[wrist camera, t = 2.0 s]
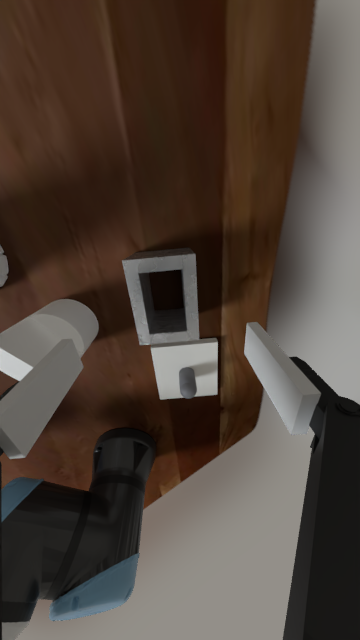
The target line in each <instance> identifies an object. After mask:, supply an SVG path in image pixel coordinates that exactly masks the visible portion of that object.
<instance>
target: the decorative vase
mask: <svg viewBox="0 0 360 640" xmlns="http://www.w3.org/2000/svg"><path fill="white" fill-rule="evenodd" d="M3 253H4V250H3V249H2V247H1V246H0V287H1V286H3V285H4V283H5V281H6V280H7V278H8V276H7V275H6V274H8V272H9V269H8V261H7V256H5V255H3Z"/></svg>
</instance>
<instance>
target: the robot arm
mask: <svg viewBox="0 0 360 640" xmlns="http://www.w3.org/2000/svg"><path fill="white" fill-rule="evenodd" d="M244 354H245V355H246V357H247V359H248V361H249V362H250V364H251V366H252V368H253V369H254V371H255V373H256V375H257V376H258V378H259V380H260V382H261V383H262V385H263V387H264V389H265V390H266V392H267V394H268V395H269V397H270V399H271V401H272V403H273V404H274V406H275V408H276V410H277V411H278V413H279V415H280V417H281V418H282V420H283V422H284V424H285V425H286V427H287V429H288V431H289V432H290V434H291V435H297V434H306V433H307V431H308V429H309V426H310V427H311V428H312V430H313V431H314V433H315V435H314V438H313V441H312V443H311V446H310V447H311V448H312V452H311V458H310V465H309V471H308V478H307V484H306V491H305V498H304V504H303V511H302V517H301V524H300V531H299V537H298V544H297V550H296V557H295V563H294V570H293V576H292V583H291V590H290V596H289V602H288V609H287V615H286V622H285V629H284V636H283V640H360V405H359V404H357V403H356V402H354V401H352V400H350V399H348V398H345V397H341V396H338V395H337V394H336V392H334V390H333V389H331V387H330V386H328V384H327V383H325V382H324V380H323V379H321V377H320V376H319V375H317V373H316V372H315V371H314V370H312V368H311V367H310V366H309V365H308V364H307V363H306V362H304V361H303V360H301V359H299V358H298V357H288V356H287V355H286V354H285V353H284V351H283V350H282V349H281V348H280V347H279V346H278V345H277V344H276V342H274V340H273V339H272V338H271V337H270V336H269V335H268V334H267V332H266V331H265V330H264V329H263V328H262V327H261V326H260V325H259V324H258V322H252V323H247V327H246V338H245V349H244ZM82 369H83V364H82V362H81V359H80V357H79V355H78V352H77V350H76V347H75V345H74V342H73V340H72V339H62V340H61V341H60V342H59V343H58V344H57V345H56V346H55V347H54V348H53V349H52V350H51V351H50V352H49V353H48V354H47V355H46V356H45V357H44V358H43V359H42V360H41V361H40V362H39V363H38V364H37V365H36V366H35V367H34V368H33V369H32V370H31V371H30V372H29V373H28V374H27V375H26V376H25V377H24V378H23V379H22V380H21V381H19V382H17V383H16V384H14V385H13V386H11V387H10V388H8V389H7V390H6V391H5V392H4V393H3V394H2V395H1V397H0V456H1V455H2V453H3V452H4V453H5V454H6V455H7V456H8V457H9V458H10V459H13V458H25V457H26V455H27V454H28V452H29V451H30V449H31V448H32V446H33V445H34V443H35V442H36V440H37V438H38V437H39V435H40V434H41V432H42V431H43V429H44V428H45V426H46V424H47V423H48V421H49V420H50V418H51V417H52V415H53V414H54V412H55V411H56V409H57V407H58V406H59V404H60V403H61V401H62V400H63V398H64V397H65V395H66V394H67V392H68V390H69V389H70V387H71V386H72V384H73V383H74V381H75V380H76V378H77V377H78V375H79V373H80V372H81V370H82ZM155 456H156V443H155V441H154V440H153V438H152V437H150V436H149V435H148V434H146V433H144V432H142V431H139V430H135V429H127V428H122V429H114V430H111V431H108V432H106V433H104V434H103V435H101V436H100V437H99V439H98V440H97V443H96V446H95V449H94V453H93V470H92V482H91V485H90V488H89V492H88V491H84V490H80V489H75V488H71V487H67V486H63V485H59V484H55V483H50V482H46V481H44V479H40V480H38V479H31V478H25V477H19V478H16V479H14V480H12V481H10V482H9V483H8V484H7V485H6V486H5V487H4V488H3V489H2V490H1V462H0V640H15V639H16V637H17V636H18V635H19V634H20V633H21V632H22V631H23V630H24V629H25V628H26V627H27V626H28V624H29V621H30V619H31V616H32V614H33V611H34V608H35V605H36V603H37V601H38V599H48V600H53V602H52V603H51V605H50V614H49V618H50V620H52V621H55V620H61V621H62V620H69V619H75V618H80V617H84V616H89V615H93V614H97V613H101V612H104V611H107V610H110V609H113V608H116V607H118V606H120V605H122V604H124V603H125V602H126V601H127V600H128V599H129V597H130V595H131V593H132V591H133V588H134V583H135V576H136V570H137V563H138V558H139V545H140V534H141V525H142V514H143V505H144V494H145V486H146V482H147V479H148V477H149V474H150V471H151V468H152V466H153V463H154V460H155Z"/></svg>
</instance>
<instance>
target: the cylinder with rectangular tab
mask: <svg viewBox="0 0 360 640" xmlns="http://www.w3.org/2000/svg"><path fill="white" fill-rule="evenodd" d="M98 330H99V324H98V321H97V318H96V316H95V315H94V313H93V312H92V311H91V310H90V309H89V308H88V307H87V306H85V305H84V304H82V303H80V302H78V301H75V300H71V299H59V300H56V301H54V302H52V303H50V304H48V305H47V306H45V307H43V308H42V309H40V310H38V311H37V312H35V313H33V314H32V315H30V316H28V317H27V318H25V319H23V320H22V321H20V322H18V323H17V324H15V325H13V326H12V327H10V328H8V329H7V330H5V331H3V332H2V333H0V371H2V372H4V373H6V374H7V375H9V376H11V377H13V378H15V379H16V380H18V381H21V380H22V379H23V378H24V377H25V376H26V375H27V374H28V373H29V372H30V371H31V370H32V369H33V368H34V367H35V366H36V365H37V364H38V363H39V362H40V361H41V360H42V359H43V358H44V357H45V356H46V355H47V354H48V353H49V352H50V351H51V350H52V349H53V348H54V347H55V346H56V345H57V344H58V343H59V342H60V341H61V340H62V339H72V340H73V342H74V345H75V347H76V350H77V352H78V355H79V357H80V358H81V357H82V355H83V354H84V353H85V351H86V350H87V348H88V347H89V346H90V344H91V343H92V341H93V340H94V339H95V337H96V336H97V334H98Z"/></svg>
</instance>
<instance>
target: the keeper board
mask: <svg viewBox="0 0 360 640" xmlns="http://www.w3.org/2000/svg"><path fill="white" fill-rule="evenodd" d="M151 352H152V358H153V363H154V369H155V374H156V380H157V385H158V391H159V396H160V400H162V399H173V398H187V399H190V398H193V397H195V396H207V395H217V376H218V341H217V339H216V338H208V339H199V340H193V341H182V342H171V343H160V344H151Z"/></svg>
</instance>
